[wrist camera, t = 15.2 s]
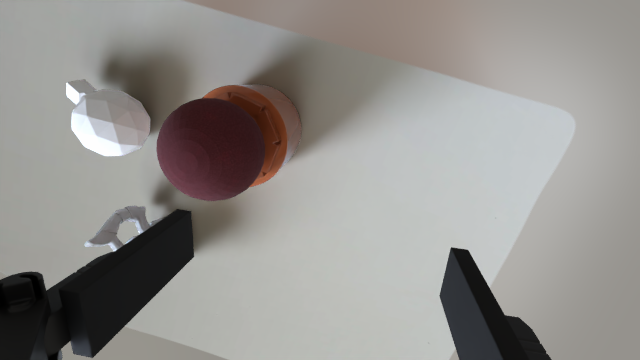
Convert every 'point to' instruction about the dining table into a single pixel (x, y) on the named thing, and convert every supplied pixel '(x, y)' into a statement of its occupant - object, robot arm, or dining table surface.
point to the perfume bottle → (107, 119)
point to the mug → (112, 224)
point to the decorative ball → (210, 149)
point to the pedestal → (267, 122)
